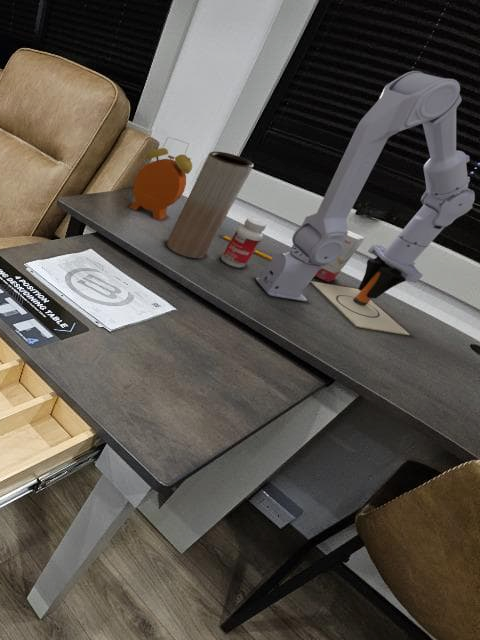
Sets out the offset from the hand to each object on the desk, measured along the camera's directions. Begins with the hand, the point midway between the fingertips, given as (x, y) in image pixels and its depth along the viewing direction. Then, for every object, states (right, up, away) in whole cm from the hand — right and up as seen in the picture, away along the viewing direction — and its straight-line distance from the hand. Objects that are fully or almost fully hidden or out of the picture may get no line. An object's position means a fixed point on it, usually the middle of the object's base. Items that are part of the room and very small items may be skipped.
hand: (366, 293), depth 108 cm
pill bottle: (-27, +10, +9) cm, 30 cm away
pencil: (-17, +15, +17) cm, 28 cm away
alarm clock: (-42, +30, +28) cm, 59 cm away
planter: (-39, +14, +11) cm, 42 cm away
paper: (-2, -3, +1) cm, 4 cm away
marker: (0, -2, +2) cm, 2 cm away
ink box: (-3, +8, +12) cm, 15 cm away
